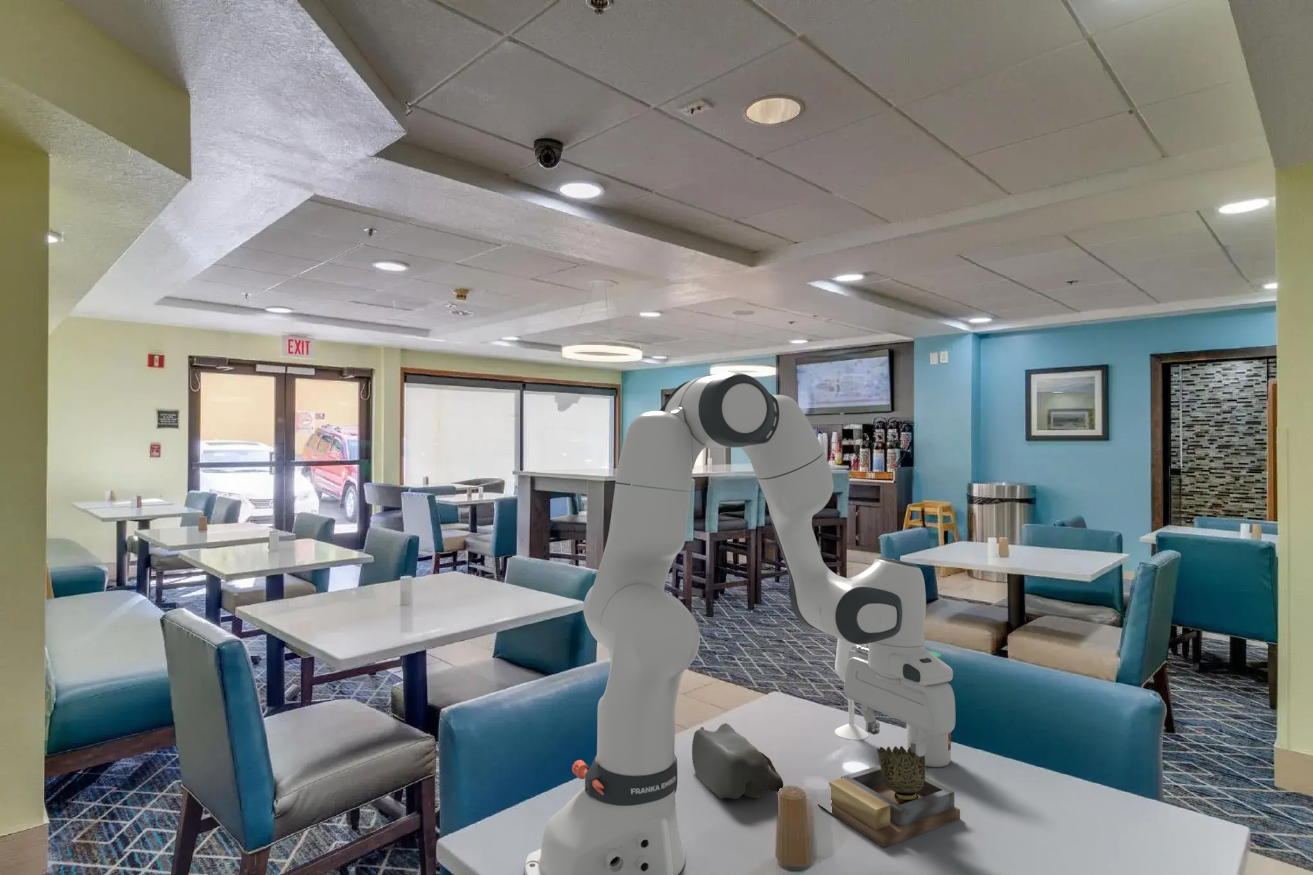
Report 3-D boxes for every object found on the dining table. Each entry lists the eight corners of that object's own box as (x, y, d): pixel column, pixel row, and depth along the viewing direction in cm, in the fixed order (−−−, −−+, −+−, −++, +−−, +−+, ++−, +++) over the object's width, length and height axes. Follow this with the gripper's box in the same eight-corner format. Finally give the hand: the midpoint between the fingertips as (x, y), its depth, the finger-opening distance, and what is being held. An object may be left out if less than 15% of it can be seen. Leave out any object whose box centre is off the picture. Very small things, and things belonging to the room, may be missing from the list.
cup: (935, 808, 108) (928, 752, 110) (885, 807, 109) (879, 752, 111) (927, 797, 115) (920, 745, 117) (880, 797, 116) (874, 745, 118)
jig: (884, 847, 103) (884, 816, 103) (818, 805, 115) (818, 777, 115) (959, 818, 111) (960, 790, 111) (890, 781, 123) (891, 756, 123)
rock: (793, 802, 116) (793, 753, 116) (733, 815, 112) (733, 765, 112) (739, 757, 133) (739, 715, 133) (685, 767, 129) (685, 724, 129)
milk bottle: (944, 772, 127) (944, 661, 127) (901, 760, 132) (901, 654, 132) (955, 757, 133) (955, 652, 133) (914, 747, 138) (914, 645, 138)
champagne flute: (828, 728, 147) (828, 613, 147) (856, 725, 149) (856, 611, 149) (846, 741, 140) (846, 621, 141) (875, 737, 142) (875, 619, 143)
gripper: (836, 644, 122) (834, 724, 121) (934, 678, 104) (933, 772, 104) (862, 640, 125) (861, 718, 124) (962, 672, 107) (961, 764, 107)
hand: (894, 743), depth 114 cm, fingers open, 8 cm apart
